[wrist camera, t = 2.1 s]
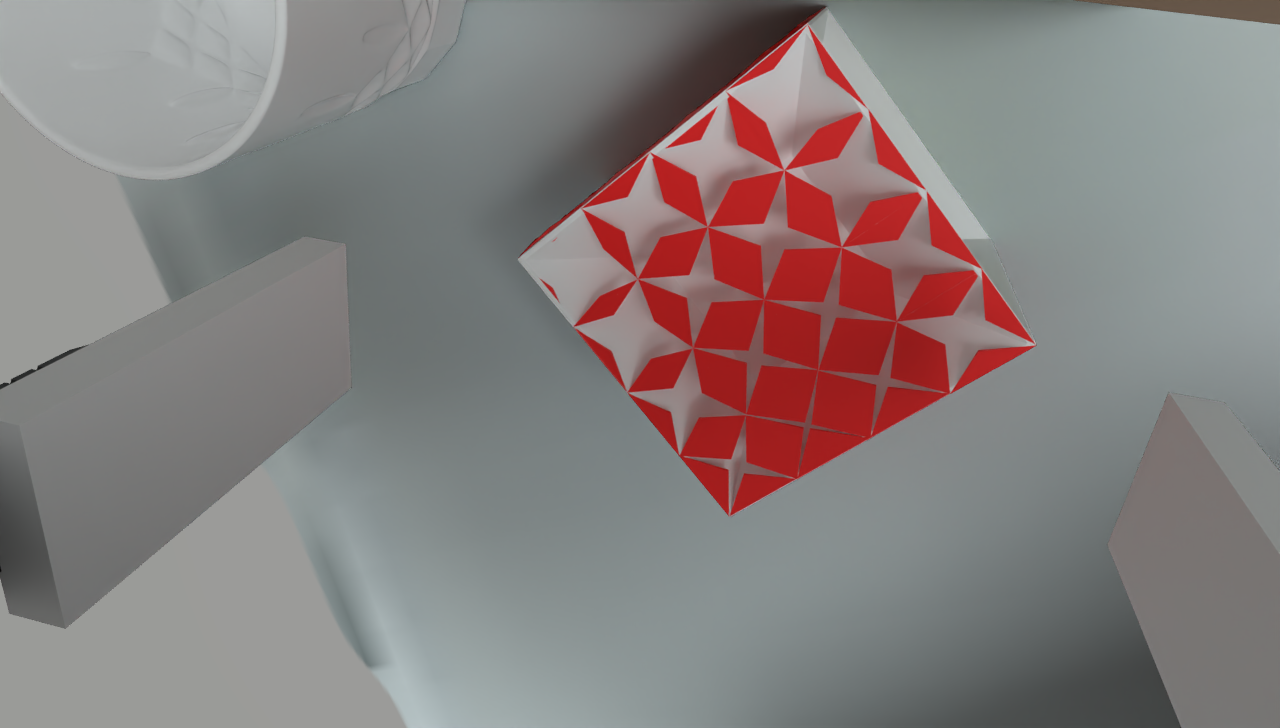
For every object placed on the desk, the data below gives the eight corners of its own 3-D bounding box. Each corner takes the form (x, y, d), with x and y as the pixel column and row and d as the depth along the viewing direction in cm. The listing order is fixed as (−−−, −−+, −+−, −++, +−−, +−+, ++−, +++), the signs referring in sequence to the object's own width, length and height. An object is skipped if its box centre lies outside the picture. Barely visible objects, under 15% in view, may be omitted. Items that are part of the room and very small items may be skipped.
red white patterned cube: (992, 240, 25) (1037, 346, 18) (765, 382, 29) (730, 518, 22) (825, 3, 24) (804, 18, 17) (607, 181, 27) (514, 256, 20)
